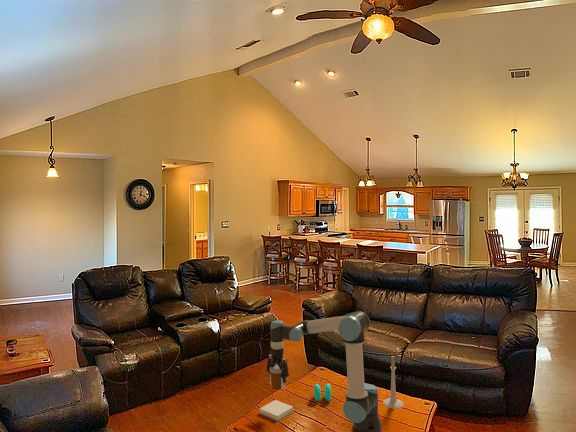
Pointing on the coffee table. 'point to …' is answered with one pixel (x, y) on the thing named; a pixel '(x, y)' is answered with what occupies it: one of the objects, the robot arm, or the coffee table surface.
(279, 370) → the disposable coffee cup
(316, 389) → the teal wheels on axle
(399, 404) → the candlestick
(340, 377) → the coffee table surface
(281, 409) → the plinth
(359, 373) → the robot arm
